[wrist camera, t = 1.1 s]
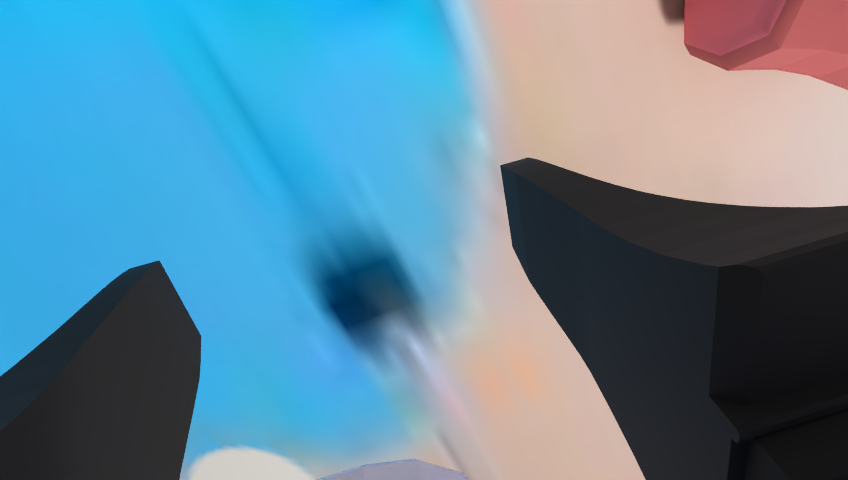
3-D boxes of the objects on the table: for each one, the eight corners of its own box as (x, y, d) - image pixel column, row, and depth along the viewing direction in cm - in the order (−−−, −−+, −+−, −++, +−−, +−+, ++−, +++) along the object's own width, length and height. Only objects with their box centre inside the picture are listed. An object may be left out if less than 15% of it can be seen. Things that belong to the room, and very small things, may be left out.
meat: (1015, 109, 18) (864, 104, 22) (1078, -65, 17) (905, -32, 21) (683, 49, 15) (587, 57, 19) (732, -168, 14) (618, -105, 18)
